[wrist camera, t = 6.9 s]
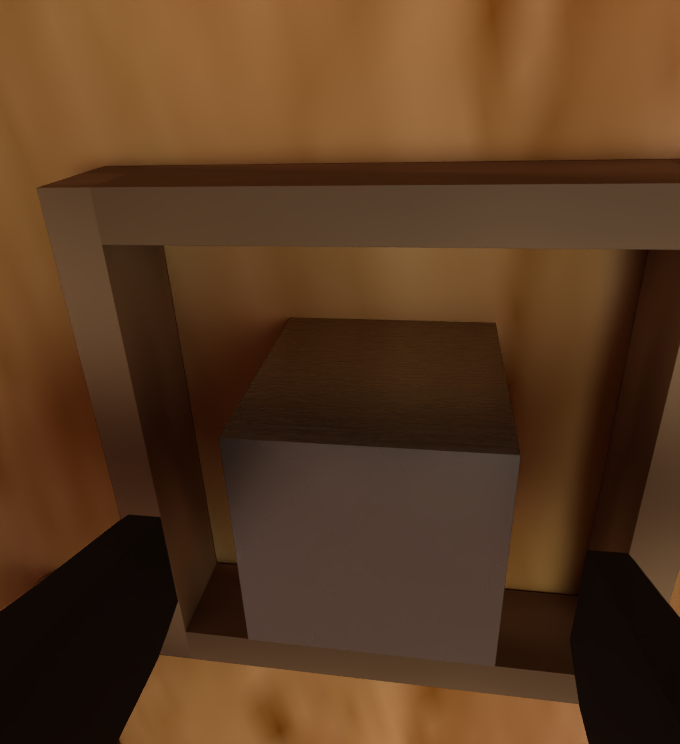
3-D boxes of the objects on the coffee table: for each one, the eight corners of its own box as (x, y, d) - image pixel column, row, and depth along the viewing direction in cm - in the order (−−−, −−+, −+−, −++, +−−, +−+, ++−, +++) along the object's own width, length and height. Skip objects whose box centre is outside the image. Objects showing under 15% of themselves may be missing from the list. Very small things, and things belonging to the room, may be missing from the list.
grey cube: (480, 489, 15) (494, 666, 11) (303, 477, 16) (248, 639, 11) (495, 321, 13) (520, 455, 9) (291, 316, 14) (218, 437, 9)
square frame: (612, 626, 16) (636, 711, 14) (188, 584, 18) (155, 654, 16) (726, 158, 11) (794, 182, 9) (104, 166, 13) (36, 187, 11)
